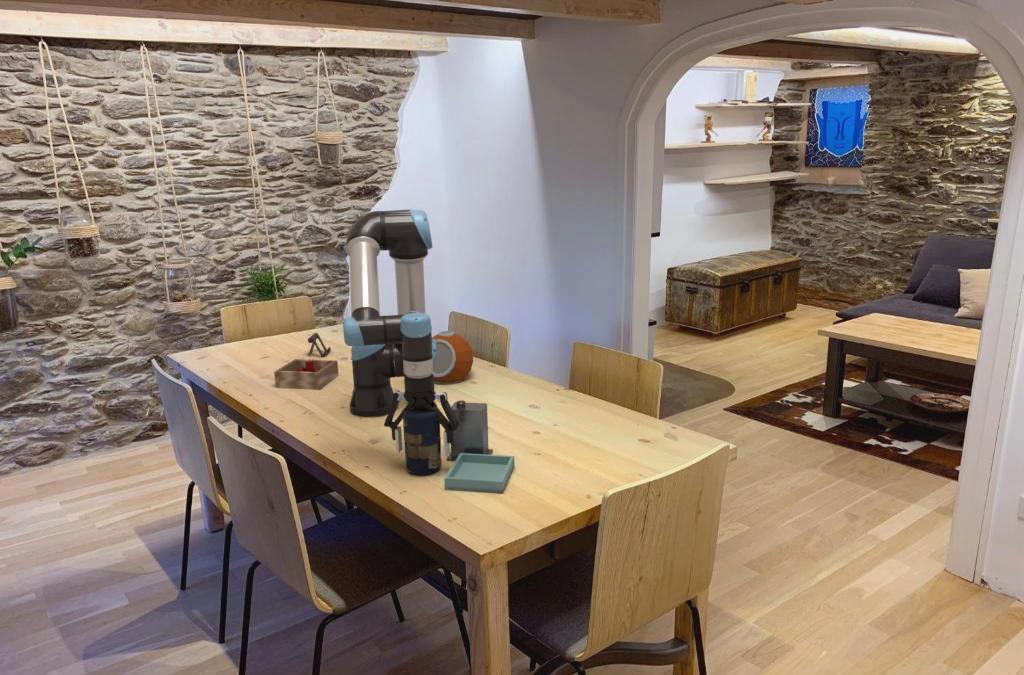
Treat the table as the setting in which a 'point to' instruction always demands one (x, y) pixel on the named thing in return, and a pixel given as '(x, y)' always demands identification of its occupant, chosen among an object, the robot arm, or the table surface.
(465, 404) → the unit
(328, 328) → the table surface
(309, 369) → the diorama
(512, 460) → the tray
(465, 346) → the alarm clock
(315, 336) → the portable electronic device stand
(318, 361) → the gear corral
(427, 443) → the canister
